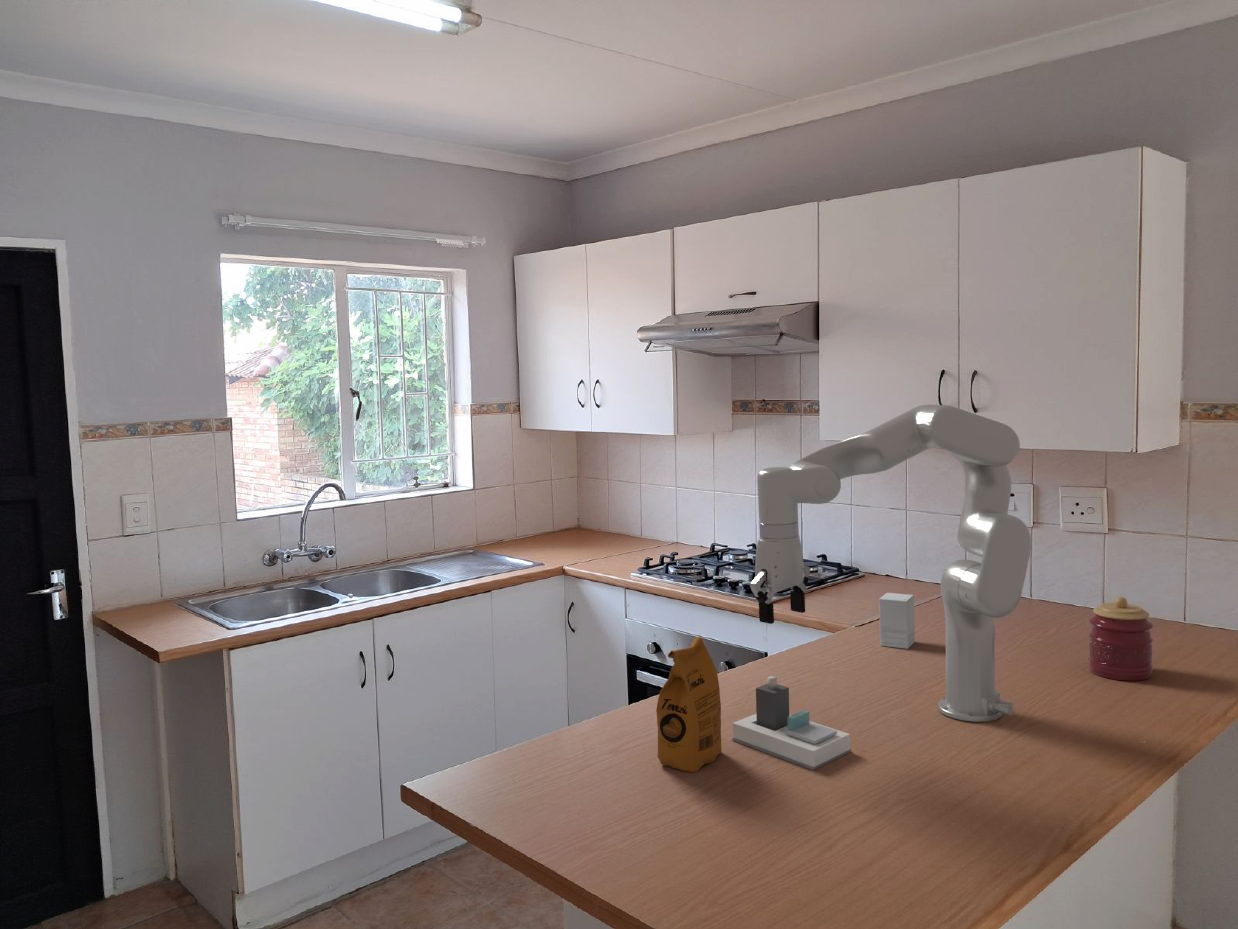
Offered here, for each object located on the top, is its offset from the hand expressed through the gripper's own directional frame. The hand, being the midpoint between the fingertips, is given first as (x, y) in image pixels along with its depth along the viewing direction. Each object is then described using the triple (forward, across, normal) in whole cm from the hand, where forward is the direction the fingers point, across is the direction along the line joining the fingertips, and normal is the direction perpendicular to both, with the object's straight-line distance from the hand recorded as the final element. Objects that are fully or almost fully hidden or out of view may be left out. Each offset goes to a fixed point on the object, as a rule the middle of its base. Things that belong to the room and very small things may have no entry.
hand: (782, 616), depth 180 cm
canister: (+26, -80, +33) cm, 90 cm away
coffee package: (+24, +22, -6) cm, 33 cm away
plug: (+23, +4, 0) cm, 24 cm away
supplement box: (+25, -66, -16) cm, 73 cm away
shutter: (+20, +5, +9) cm, 22 cm away
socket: (+24, +5, +4) cm, 25 cm away
